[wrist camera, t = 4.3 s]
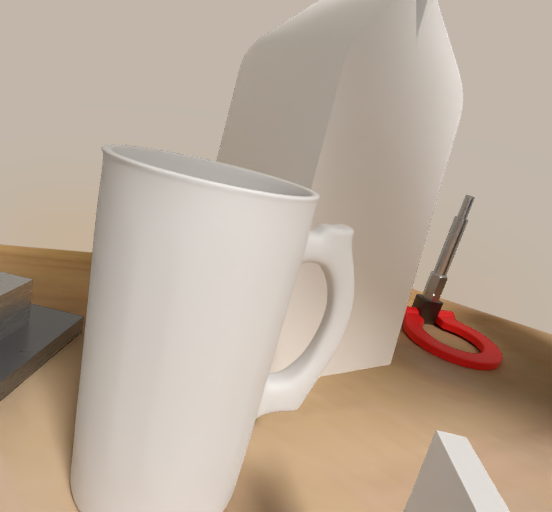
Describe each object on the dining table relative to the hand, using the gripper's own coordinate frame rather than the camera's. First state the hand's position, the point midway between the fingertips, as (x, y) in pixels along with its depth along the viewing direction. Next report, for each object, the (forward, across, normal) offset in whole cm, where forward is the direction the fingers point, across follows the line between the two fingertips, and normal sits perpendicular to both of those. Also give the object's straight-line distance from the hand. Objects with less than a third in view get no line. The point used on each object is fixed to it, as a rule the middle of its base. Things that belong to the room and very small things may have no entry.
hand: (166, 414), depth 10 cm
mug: (+5, +1, -6) cm, 8 cm away
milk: (+20, +4, -7) cm, 22 cm away
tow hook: (+26, +19, -7) cm, 33 cm away
